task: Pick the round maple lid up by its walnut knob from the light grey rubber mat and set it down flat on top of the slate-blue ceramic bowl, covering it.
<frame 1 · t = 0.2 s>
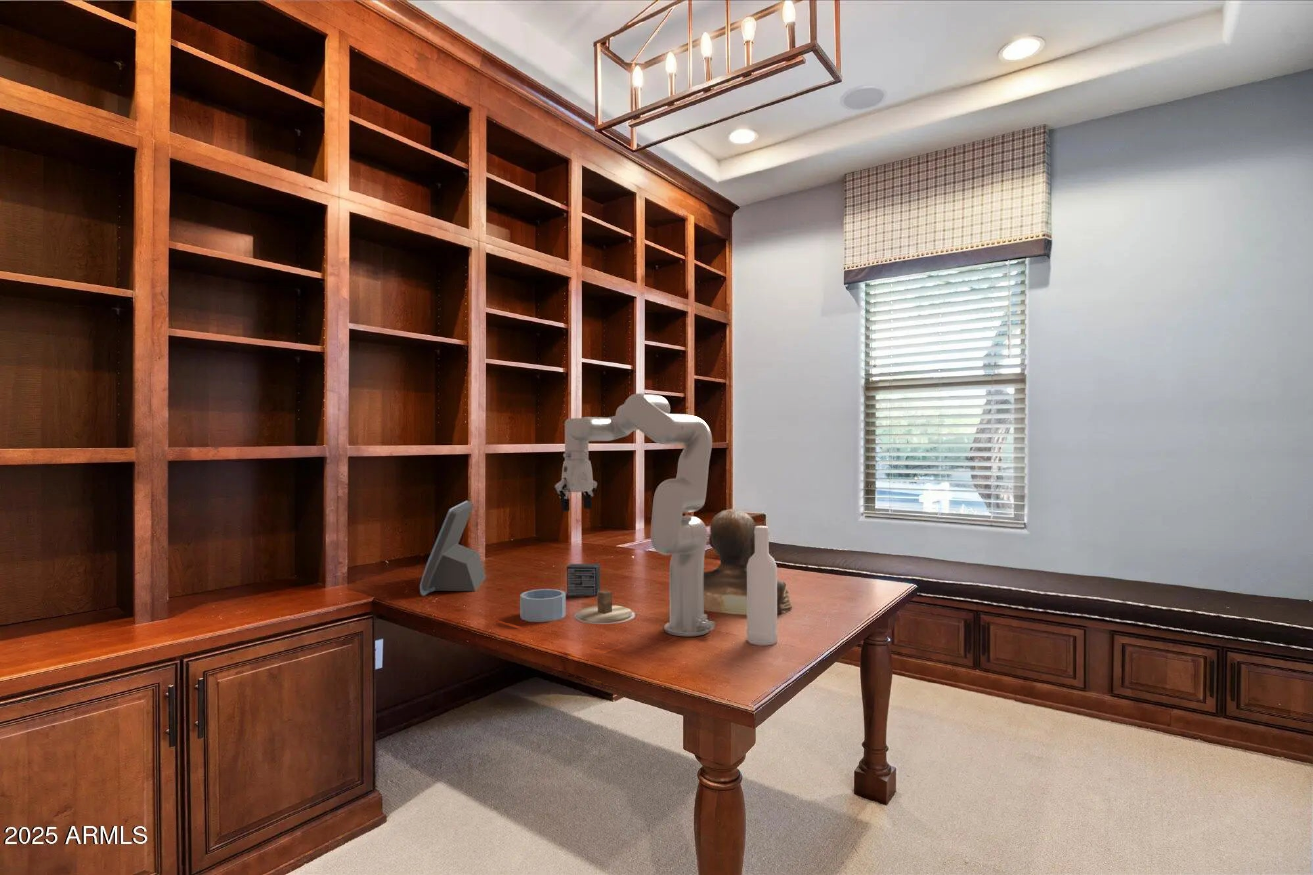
hand: (576, 509, 207), 31 cm above the table, fingers open, 9 cm apart
lid: (604, 615, 192), point 1 cm above the table, touching mat
bottle: (762, 641, 169), on the table
small box: (583, 596, 220), on the table
bowl: (543, 617, 192), on the table
portrait bust: (735, 605, 206), on the table
touchscreen device: (454, 585, 237), on the table
mat: (604, 617, 192), on the table
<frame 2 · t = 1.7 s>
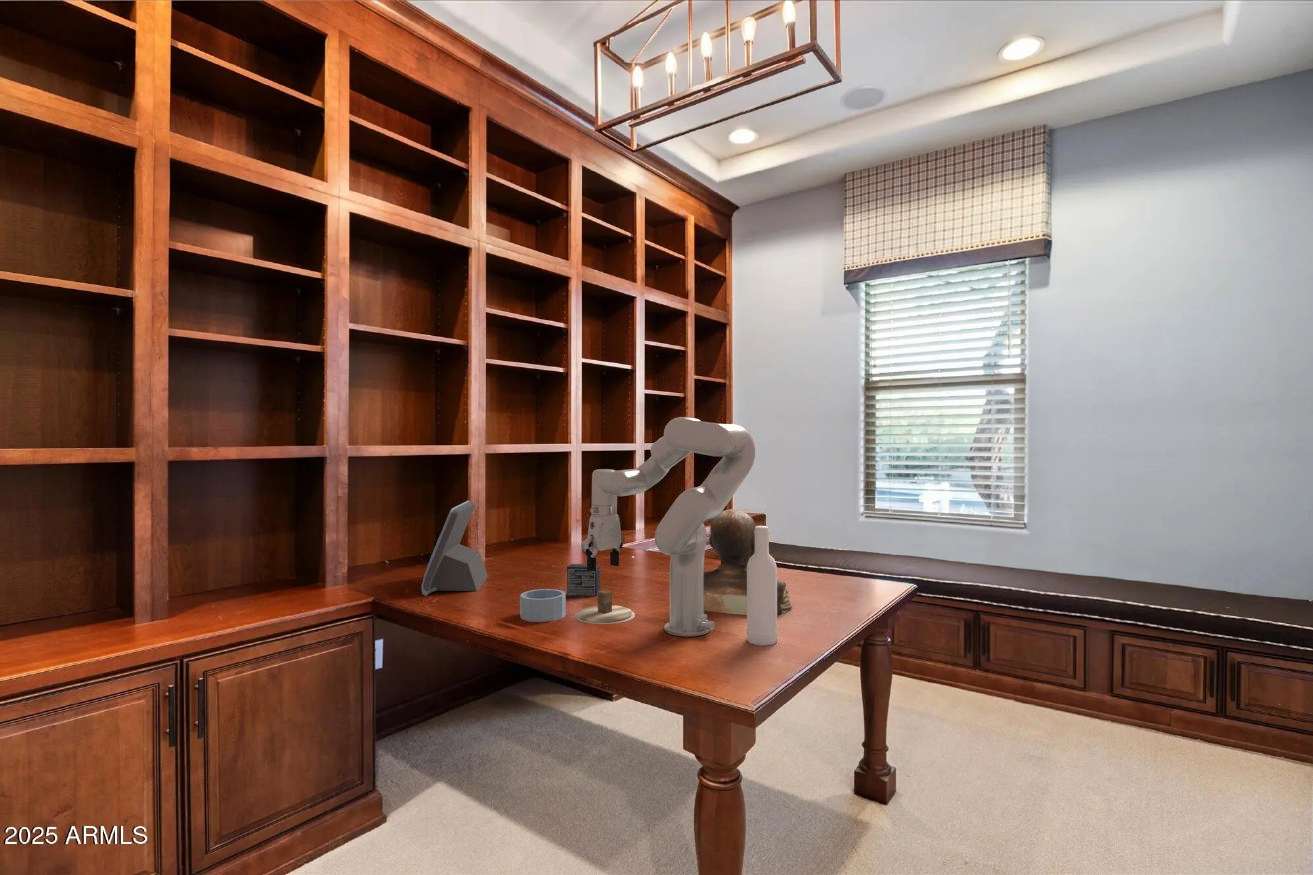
hand: (603, 567, 193), 15 cm above the table, fingers open, 9 cm apart
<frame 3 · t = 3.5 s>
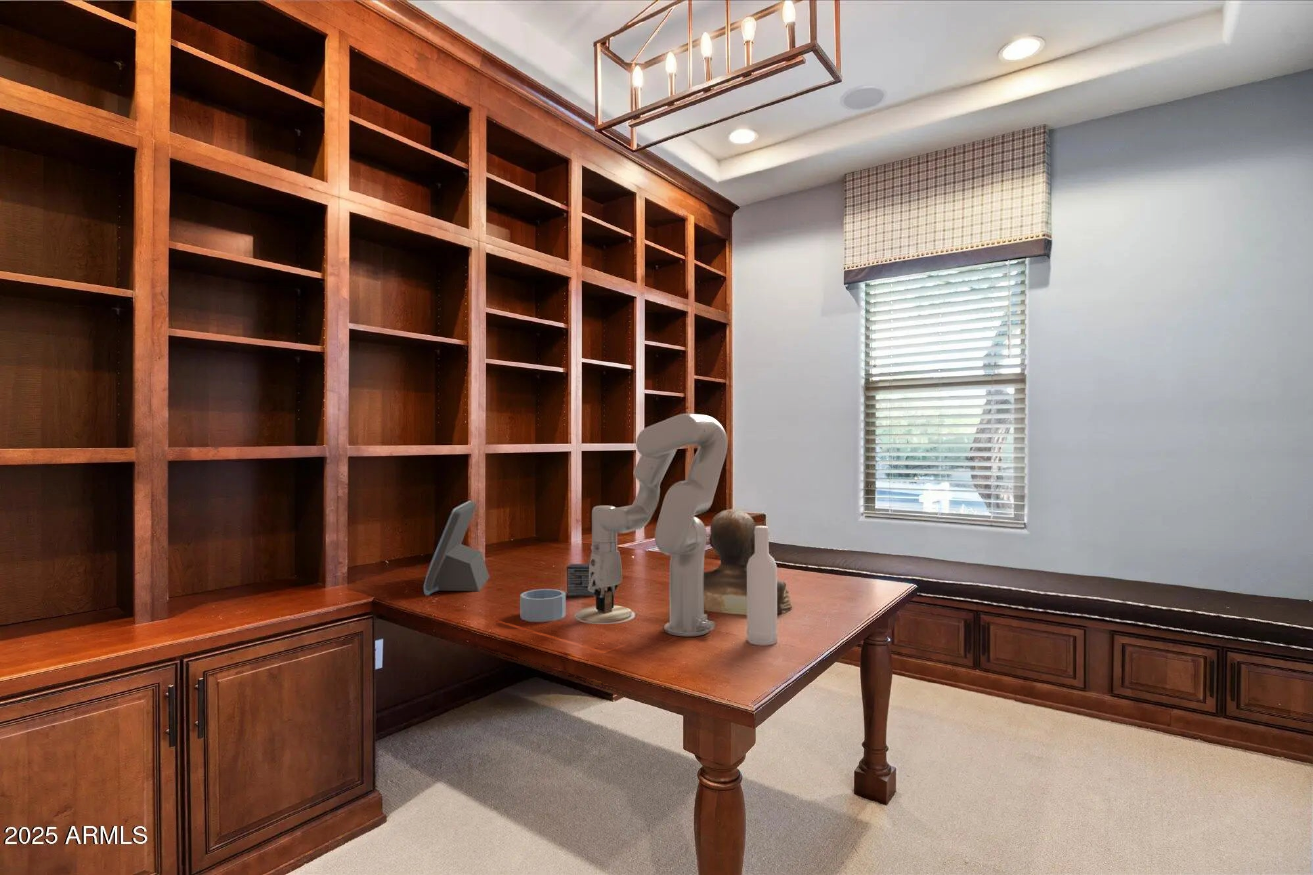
hand: (604, 608, 192), 3 cm above the table, fingers closed on lid, 3 cm apart
lid: (604, 615, 192), point 1 cm above the table, touching gripper
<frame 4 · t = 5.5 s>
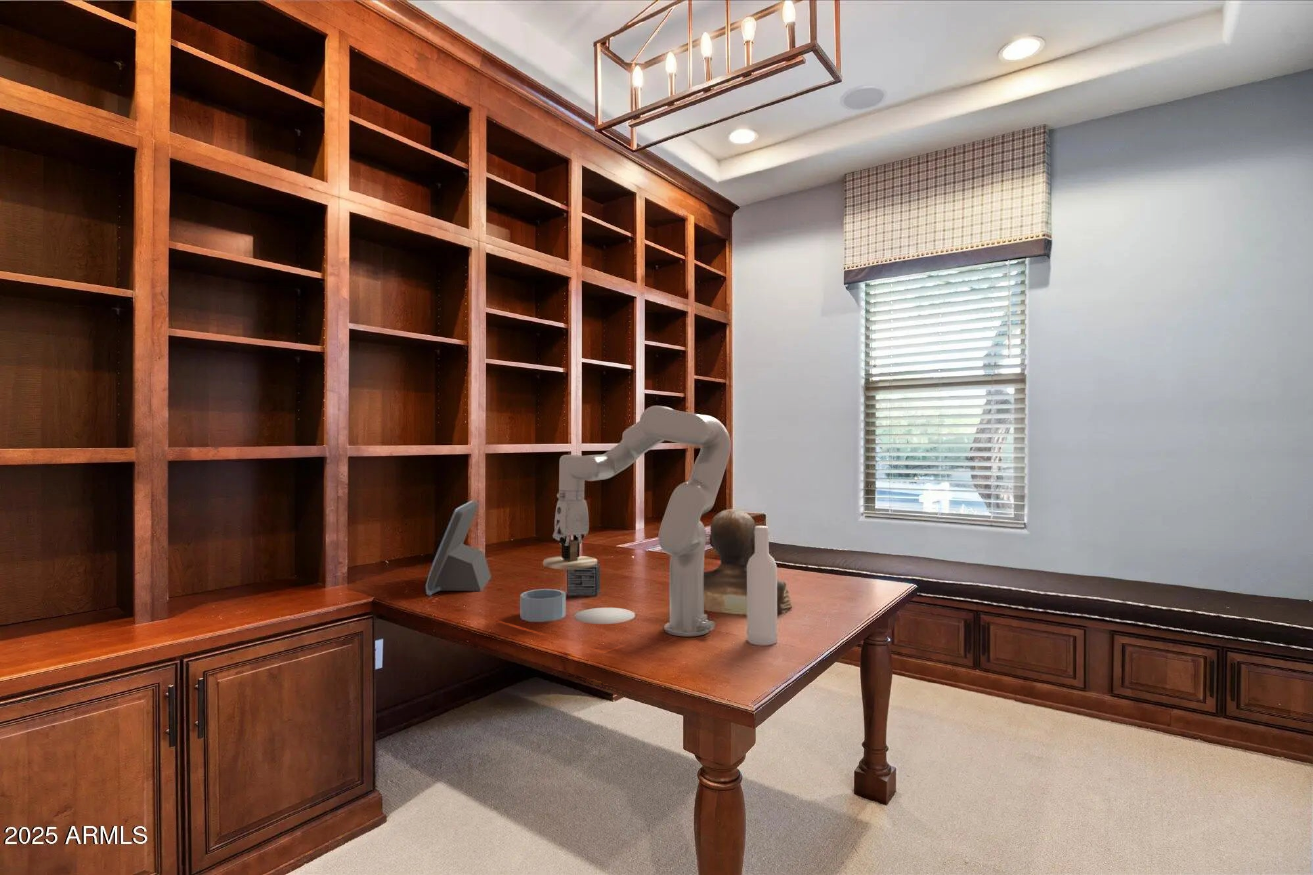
hand: (570, 557, 192), 18 cm above the table, fingers closed on lid, 3 cm apart
lid: (570, 563, 192), point 16 cm above the table, touching gripper
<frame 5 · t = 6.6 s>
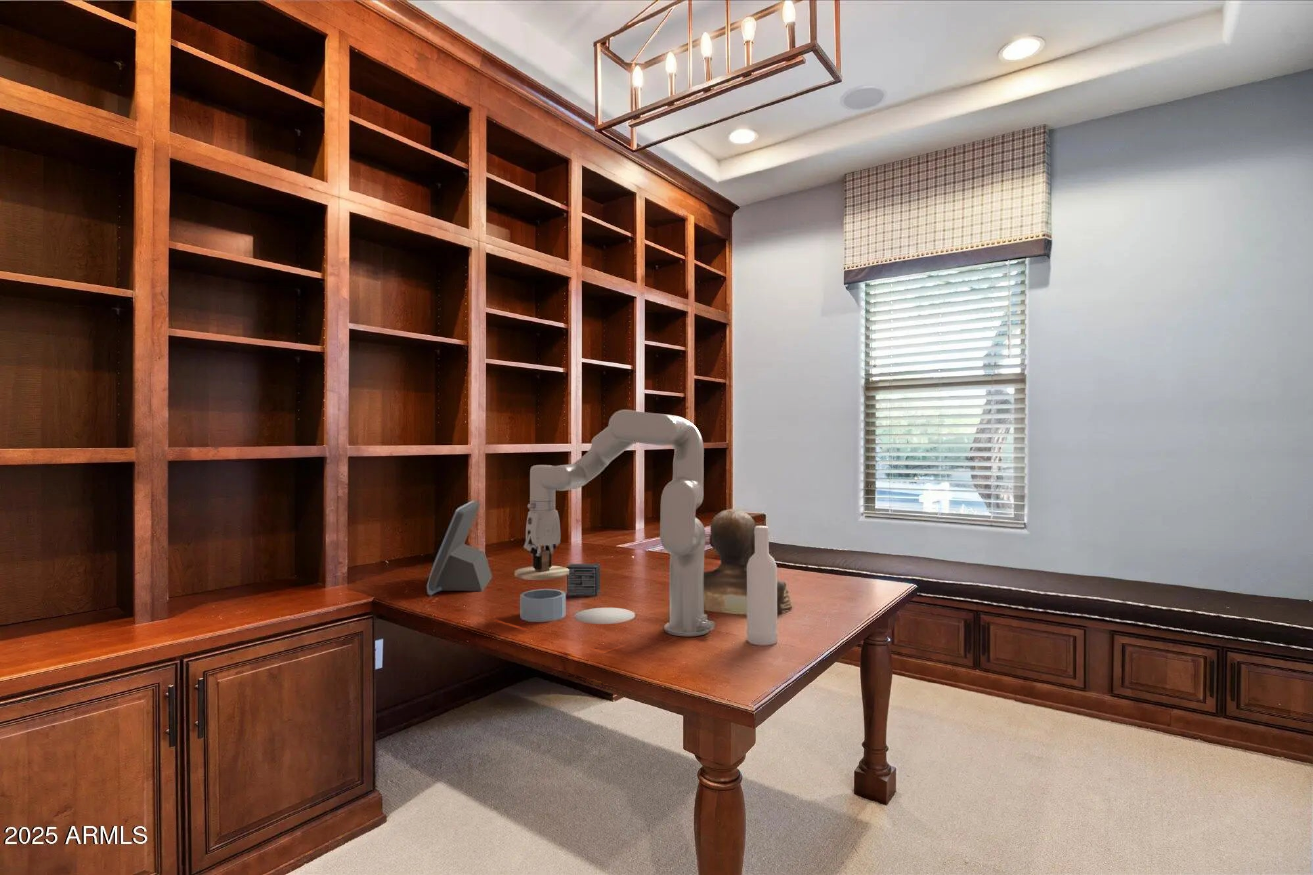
hand: (542, 567, 192), 15 cm above the table, fingers closed on lid, 3 cm apart
lid: (542, 574, 192), point 13 cm above the table, touching gripper
when the fingers open (11 cm above the table, at t = 7.5 s): lid drops 2 cm, resting on bowl.
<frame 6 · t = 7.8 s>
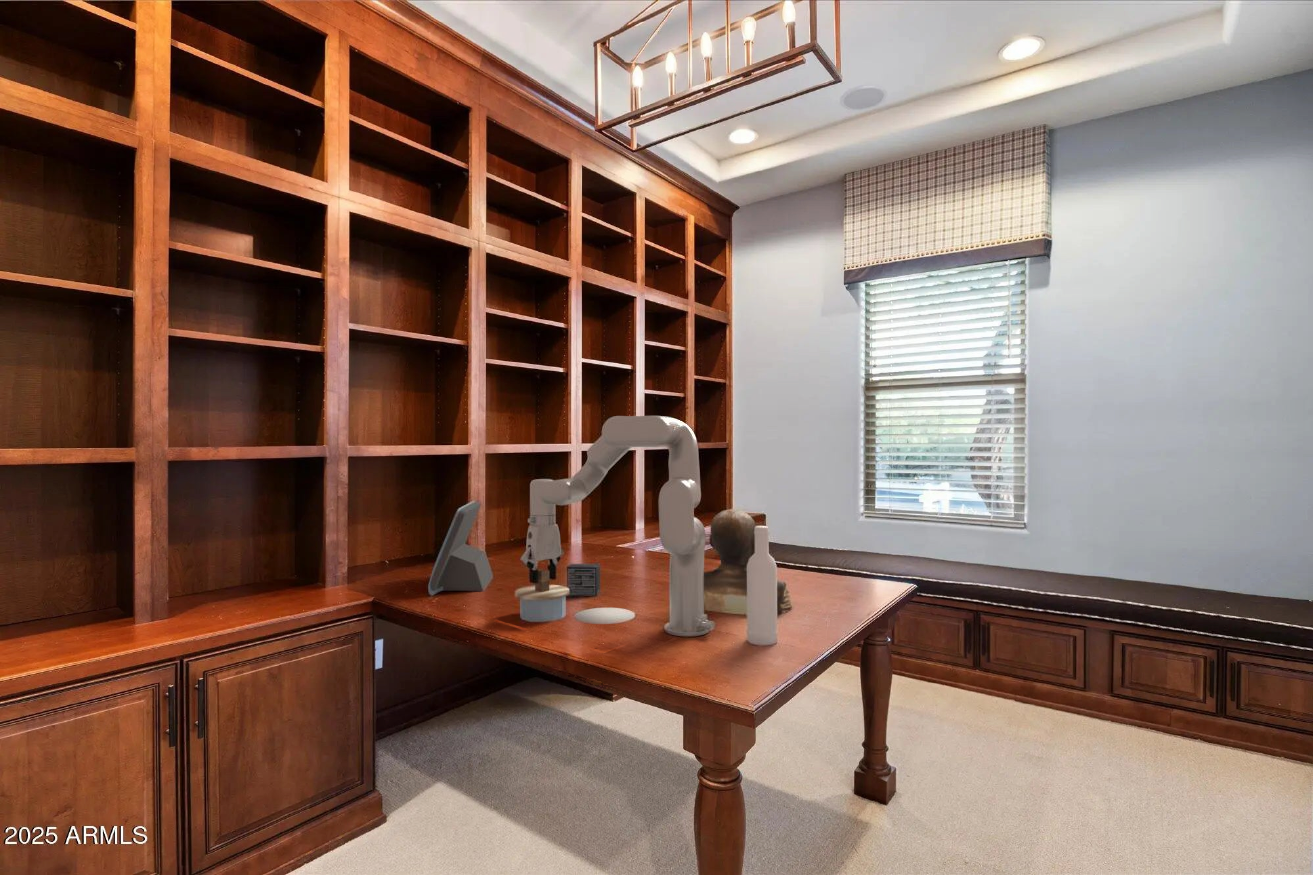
hand: (542, 580, 192), 11 cm above the table, fingers open, 6 cm apart
lid: (542, 593, 192), point 7 cm above the table, touching bowl
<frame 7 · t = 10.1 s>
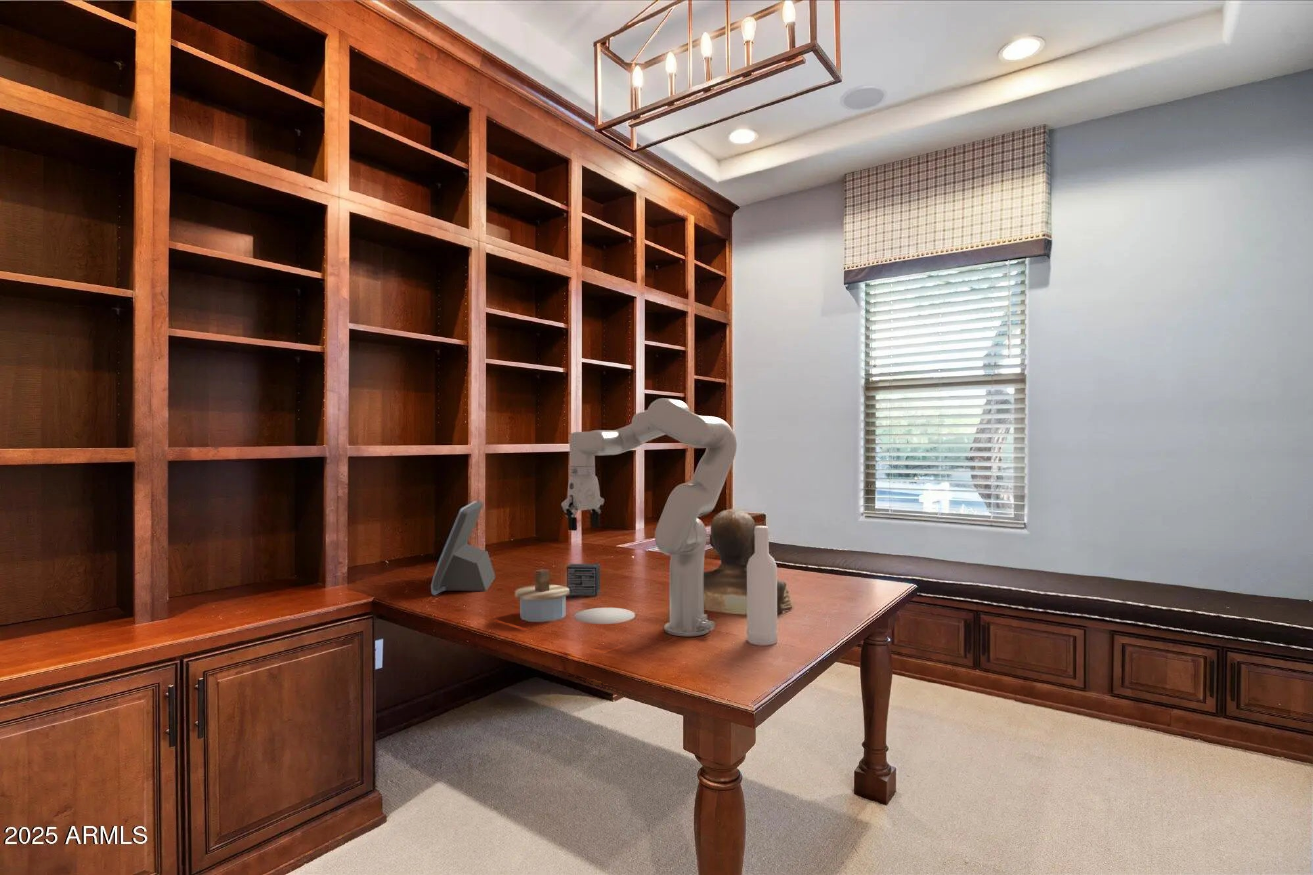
hand: (584, 528, 196), 26 cm above the table, fingers open, 9 cm apart
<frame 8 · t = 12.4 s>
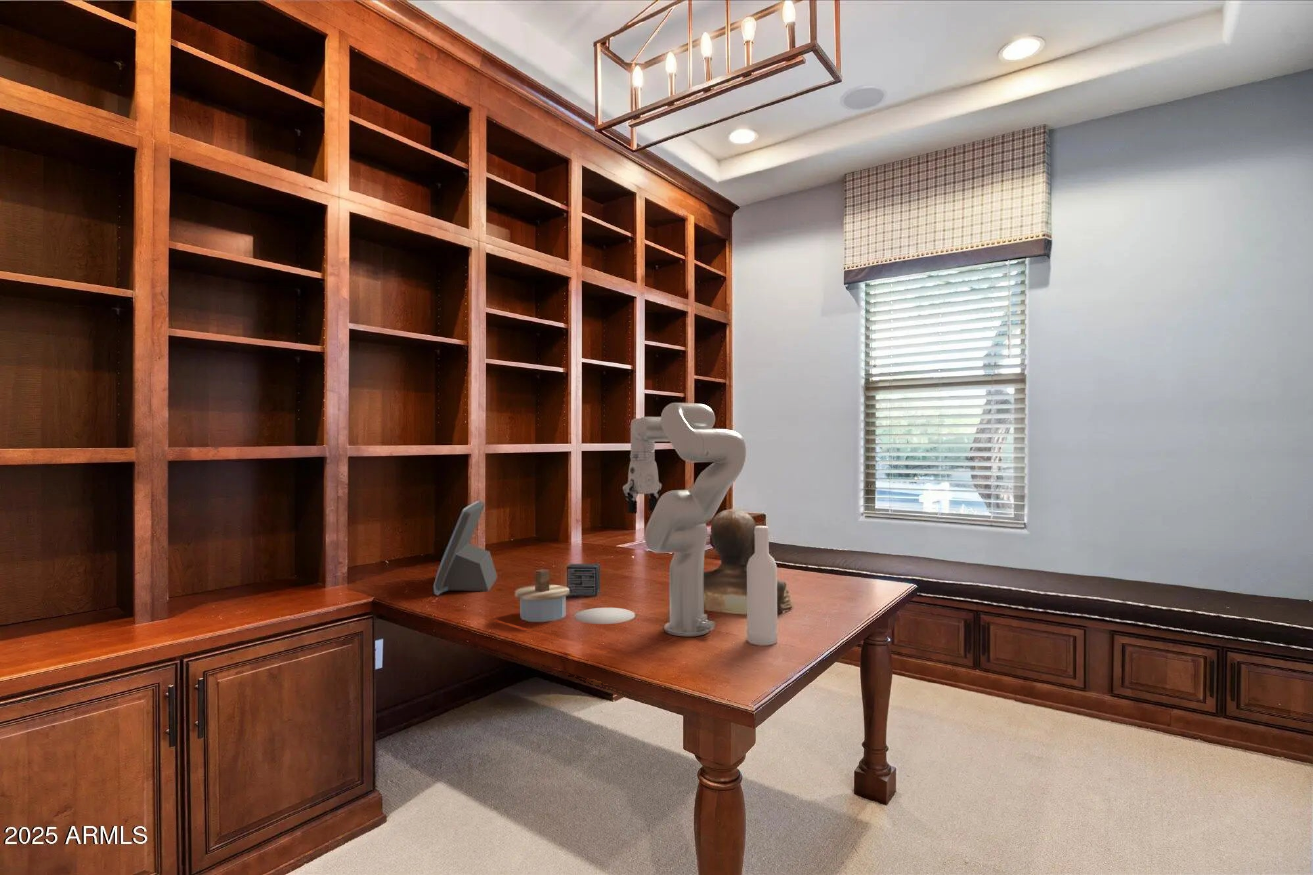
hand: (642, 511, 202), 30 cm above the table, fingers open, 9 cm apart
at the end: lid 0.4 cm off-centre on the bowl, point 7.0 cm above the bowl's base; lid tilted 0°; the gripper is holding nothing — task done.
